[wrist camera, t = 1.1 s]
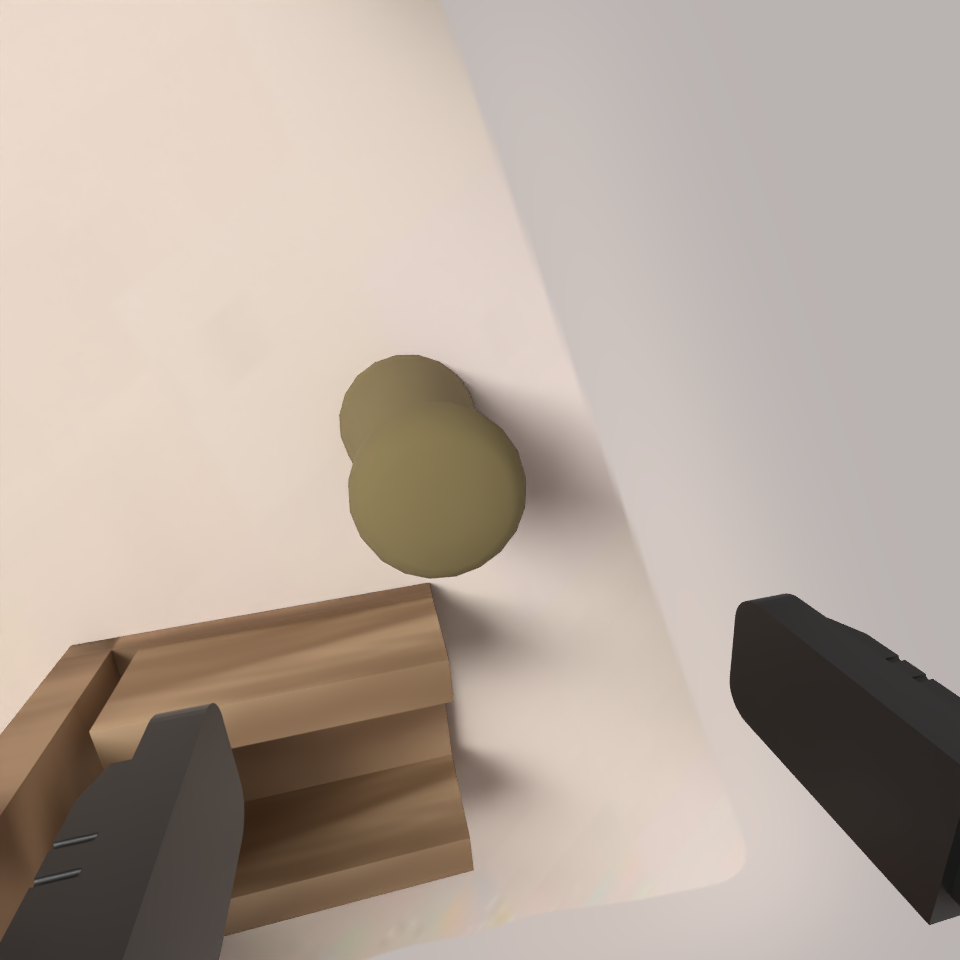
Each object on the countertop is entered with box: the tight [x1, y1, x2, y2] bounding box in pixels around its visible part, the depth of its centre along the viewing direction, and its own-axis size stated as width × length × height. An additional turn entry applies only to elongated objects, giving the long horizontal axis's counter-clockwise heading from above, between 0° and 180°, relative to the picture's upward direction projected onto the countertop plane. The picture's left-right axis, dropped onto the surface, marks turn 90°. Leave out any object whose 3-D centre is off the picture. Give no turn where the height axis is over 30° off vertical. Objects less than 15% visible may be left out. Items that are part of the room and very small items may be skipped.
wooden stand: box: [0, 583, 474, 942], centre depth 20 cm, size 12×16×18 cm
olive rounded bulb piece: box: [339, 355, 526, 579], centre depth 20 cm, size 6×6×11 cm
